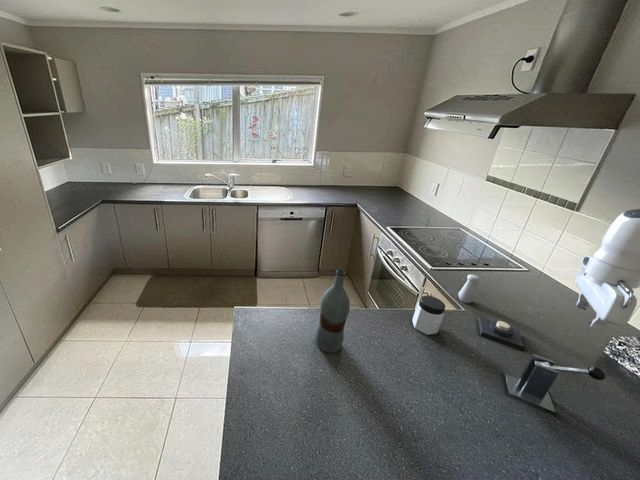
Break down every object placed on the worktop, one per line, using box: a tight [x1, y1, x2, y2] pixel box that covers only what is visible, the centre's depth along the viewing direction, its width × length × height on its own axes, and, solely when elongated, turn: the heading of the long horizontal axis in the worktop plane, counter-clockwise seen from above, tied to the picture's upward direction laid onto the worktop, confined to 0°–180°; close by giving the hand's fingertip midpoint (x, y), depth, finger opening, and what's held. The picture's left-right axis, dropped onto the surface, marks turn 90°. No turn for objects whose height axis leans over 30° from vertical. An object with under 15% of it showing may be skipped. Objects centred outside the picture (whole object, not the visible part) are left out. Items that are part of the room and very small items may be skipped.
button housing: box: [477, 316, 525, 351], centre depth 105 cm, size 12×10×4 cm
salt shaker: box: [458, 274, 481, 304], centre depth 122 cm, size 6×6×13 cm
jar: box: [411, 295, 446, 336], centre depth 106 cm, size 9×8×12 cm
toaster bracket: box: [504, 353, 560, 414], centre depth 81 cm, size 10×8×13 cm
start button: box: [496, 320, 511, 331], centre depth 104 cm, size 4×4×2 cm
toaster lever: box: [535, 361, 607, 381], centre depth 76 cm, size 13×3×3 cm, turn 57°
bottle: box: [315, 268, 351, 354], centre depth 92 cm, size 9×9×30 cm
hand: (587, 317), depth 74 cm, fingers open, 8 cm apart
